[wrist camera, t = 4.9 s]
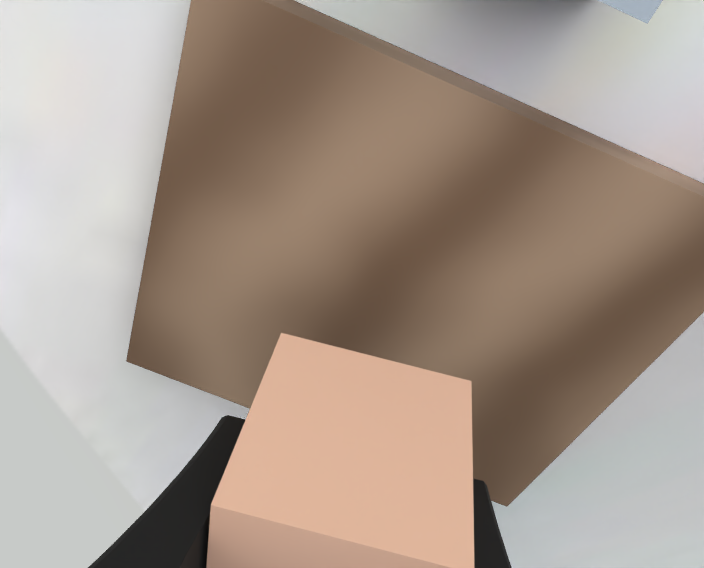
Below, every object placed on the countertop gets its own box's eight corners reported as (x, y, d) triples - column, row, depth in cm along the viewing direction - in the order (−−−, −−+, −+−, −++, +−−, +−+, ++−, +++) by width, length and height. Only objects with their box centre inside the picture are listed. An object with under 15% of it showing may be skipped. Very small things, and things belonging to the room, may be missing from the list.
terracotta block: (471, 380, 12) (475, 573, 8) (420, 492, 14) (407, 677, 11) (281, 332, 12) (211, 504, 8) (263, 452, 14) (202, 622, 11)
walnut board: (764, 210, 16) (783, 232, 15) (505, 481, 24) (507, 506, 23) (214, -35, 14) (196, -29, 13) (141, 340, 22) (126, 361, 21)
